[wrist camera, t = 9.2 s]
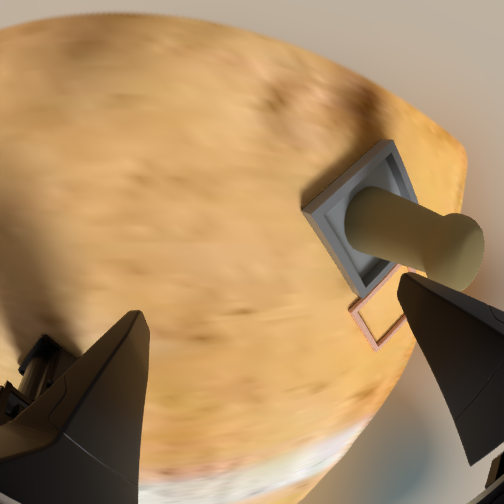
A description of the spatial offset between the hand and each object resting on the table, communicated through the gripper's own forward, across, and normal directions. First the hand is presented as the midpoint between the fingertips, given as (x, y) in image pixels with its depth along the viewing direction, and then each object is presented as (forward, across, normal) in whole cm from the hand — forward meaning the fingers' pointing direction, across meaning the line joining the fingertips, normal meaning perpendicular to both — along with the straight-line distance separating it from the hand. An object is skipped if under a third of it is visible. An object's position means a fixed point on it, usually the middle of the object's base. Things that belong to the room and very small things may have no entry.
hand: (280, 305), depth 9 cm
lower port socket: (+14, -11, +3) cm, 18 cm away
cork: (+14, -11, +3) cm, 18 cm away
